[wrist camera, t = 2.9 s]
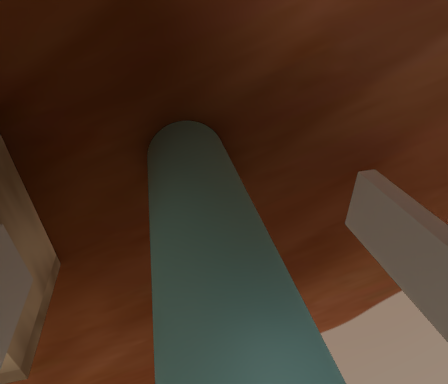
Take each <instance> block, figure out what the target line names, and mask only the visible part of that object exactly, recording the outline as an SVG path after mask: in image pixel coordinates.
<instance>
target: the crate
mask: <svg viewBox="0 0 448 384" xmlns="http://www.w3.org/2000/svg"><path fill="white" fill-rule="evenodd" d="M0 224H3V225H4V227H5V229H6V231H7V232H8V234H9V236H10V238H11V240H12V241H13V243H14V245H15V247H16V249H17V251H18V252H19V254H20V256H21V258H22V260H23V261H24V263H25V265H26V267H27V269H28V270H29V272H30V274H31V276H32V278H33V282H32V285H31V288H30V290H29V293H28V296H27V299H26V301H25V304H24V307H23V309H22V312H21V315H20V318H19V320H18V323H17V326H16V329H15V331H14V334H13V337H12V340H11V342H10V345H9V348H8V350H7V353H6V356H5V359H4V361H3V364H2V367H1V370H0V384H6V383H11V382H15V381H20V380H24V379H28V376H29V373H30V369H31V366H32V362H33V359H34V356H35V352H36V349H37V345H38V342H39V338H40V335H41V331H42V328H43V324H44V321H45V317H46V314H47V310H48V307H49V303H50V300H51V297H52V293H53V290H54V286H55V283H56V279H57V276H58V272H59V269H60V265H61V264H60V261H59V259H58V257H57V255H56V253H55V251H54V249H53V246H52V244H51V242H50V240H49V238H48V236H47V234H46V231H45V229H44V227H43V225H42V223H41V221H40V219H39V216H38V214H37V212H36V210H35V208H34V206H33V203H32V201H31V199H30V197H29V195H28V193H27V191H26V188H25V186H24V184H23V182H22V180H21V178H20V176H19V173H18V171H17V169H16V167H15V165H14V163H13V161H12V158H11V156H10V154H9V152H8V150H7V148H6V146H5V143H4V141H3V139H2V137H1V135H0Z"/></svg>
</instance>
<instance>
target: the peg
mask: <svg viewBox="0 0 448 384" xmlns="http://www.w3.org/2000/svg"><path fill="white" fill-rule="evenodd" d="M147 167H148V195H149V224H150V252H151V281H152V309H153V337H154V366H155V384H346V383H345V381H344V379H343V377H342V375H341V373H340V371H339V369H338V367H337V365H336V364H335V361H334V360H333V358H332V356H331V354H330V352H329V350H328V348H327V346H326V344H325V342H324V340H323V338H322V336H321V334H320V332H319V330H318V328H317V327H316V325H315V323H314V321H313V319H312V317H311V315H310V313H309V311H308V309H307V307H306V305H305V303H304V301H303V299H302V297H301V295H300V293H299V292H298V290H297V288H296V286H295V284H294V282H293V280H292V278H291V276H290V274H289V272H288V270H287V268H286V266H285V264H284V262H283V260H282V259H281V257H280V255H279V253H278V251H277V249H276V247H275V245H274V243H273V241H272V239H271V237H270V235H269V233H268V231H267V229H266V227H265V226H264V224H263V222H262V220H261V218H260V216H259V214H258V212H257V210H256V208H255V206H254V204H253V202H252V200H251V198H250V196H249V194H248V193H247V191H246V189H245V187H244V185H243V183H242V181H241V179H240V177H239V175H238V173H237V171H236V169H235V167H234V165H233V163H232V161H231V160H230V158H229V156H228V154H227V152H226V150H225V148H224V146H223V144H222V142H221V140H220V138H219V137H218V135H217V134H216V133H215V132H214V131H213V130H212V129H211V128H209V127H208V126H206V125H204V124H202V123H199V122H195V121H179V122H175V123H172V124H169V125H167V126H166V127H164V128H162V129H161V130H160V131H159V132H158V133H157V134H156V135H155V136H154V137H153V139H152V141H151V142H150V145H149V148H148V152H147Z"/></svg>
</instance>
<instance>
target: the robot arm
mask: <svg viewBox="0 0 448 384" xmlns="http://www.w3.org/2000/svg"><path fill="white" fill-rule="evenodd" d="M345 225H346V226H347V227H348V228H349V229H350V231H351V232H352V233H353V234H354V235H355V236H356V238H357V239H358V240H359V241H360V242H361V243H362V244H363V246H364V247H365V248H366V249H367V250H368V251H369V252H370V254H371V255H372V256H373V257H374V258H375V259H376V260H377V262H378V263H379V264H380V265H381V266H382V267H383V269H384V270H385V271H386V272H387V273H388V274H389V275H390V277H391V278H392V279H393V280H394V281H395V282H396V283H397V285H398V286H399V287H400V288H401V289H402V290H403V291H404V293H405V294H406V295H407V296H408V297H409V298H410V300H411V301H412V302H413V303H414V304H415V305H416V306H417V308H419V310H420V311H421V312H422V313H423V314H424V316H425V317H426V318H427V319H428V320H429V321H430V322H431V324H432V325H433V326H434V327H435V328H436V329H437V331H438V332H439V333H440V334H441V335H442V336H443V337H444V339H445V340H446V341H447V342H448V225H447V224H446V223H444V222H443V221H442V220H440V219H439V218H438V217H437V216H435V215H434V214H433V213H431V212H430V211H429V210H427V209H426V208H425V207H424V206H422V205H421V204H420V203H418V202H417V201H416V200H414V199H413V198H412V197H411V196H409V195H408V194H407V193H405V192H404V191H403V190H401V189H400V188H399V187H398V186H396V185H395V184H394V183H392V182H391V181H390V180H388V179H387V178H386V177H384V176H383V175H382V174H381V173H379V172H378V171H377V170H375V169H372V170H366V171H359V172H358V174H357V178H356V182H355V186H354V190H353V193H352V197H351V201H350V205H349V209H348V213H347V217H346V221H345ZM32 282H33V278H32V276H31V274H30V272H29V270H28V269H27V267H26V265H25V263H24V261H23V260H22V258H21V256H20V254H19V252H18V251H17V249H16V247H15V245H14V243H13V241H12V240H11V238H10V236H9V234H8V232H7V231H6V229H5V227H4V225H3V224H0V370H1V367H2V364H3V361H4V359H5V356H6V353H7V350H8V348H9V345H10V342H11V340H12V337H13V334H14V331H15V329H16V326H17V323H18V320H19V318H20V315H21V312H22V309H23V307H24V304H25V301H26V299H27V296H28V293H29V290H30V288H31V285H32Z"/></svg>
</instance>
